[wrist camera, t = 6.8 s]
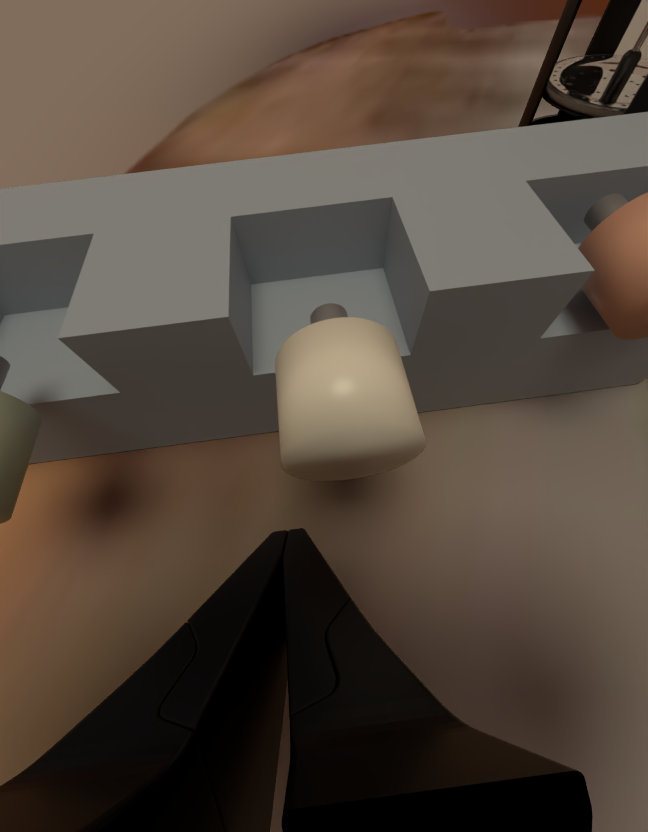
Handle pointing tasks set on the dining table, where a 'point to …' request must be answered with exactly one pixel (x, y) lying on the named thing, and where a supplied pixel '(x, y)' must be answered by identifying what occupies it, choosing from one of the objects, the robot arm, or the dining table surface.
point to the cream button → (344, 400)
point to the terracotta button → (619, 263)
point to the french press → (592, 71)
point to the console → (310, 279)
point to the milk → (635, 32)
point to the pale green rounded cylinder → (14, 444)
